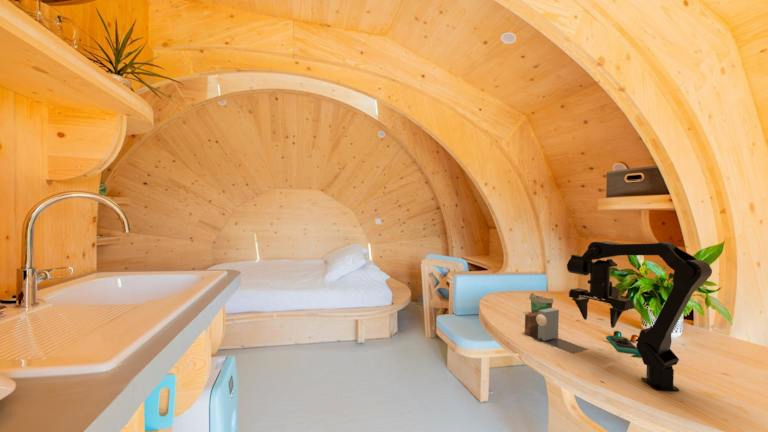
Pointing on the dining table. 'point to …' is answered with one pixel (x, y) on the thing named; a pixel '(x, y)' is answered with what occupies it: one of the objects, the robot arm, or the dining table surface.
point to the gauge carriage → (547, 323)
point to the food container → (539, 303)
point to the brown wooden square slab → (531, 324)
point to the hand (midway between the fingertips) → (598, 323)
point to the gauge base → (560, 344)
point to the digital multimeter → (623, 345)
